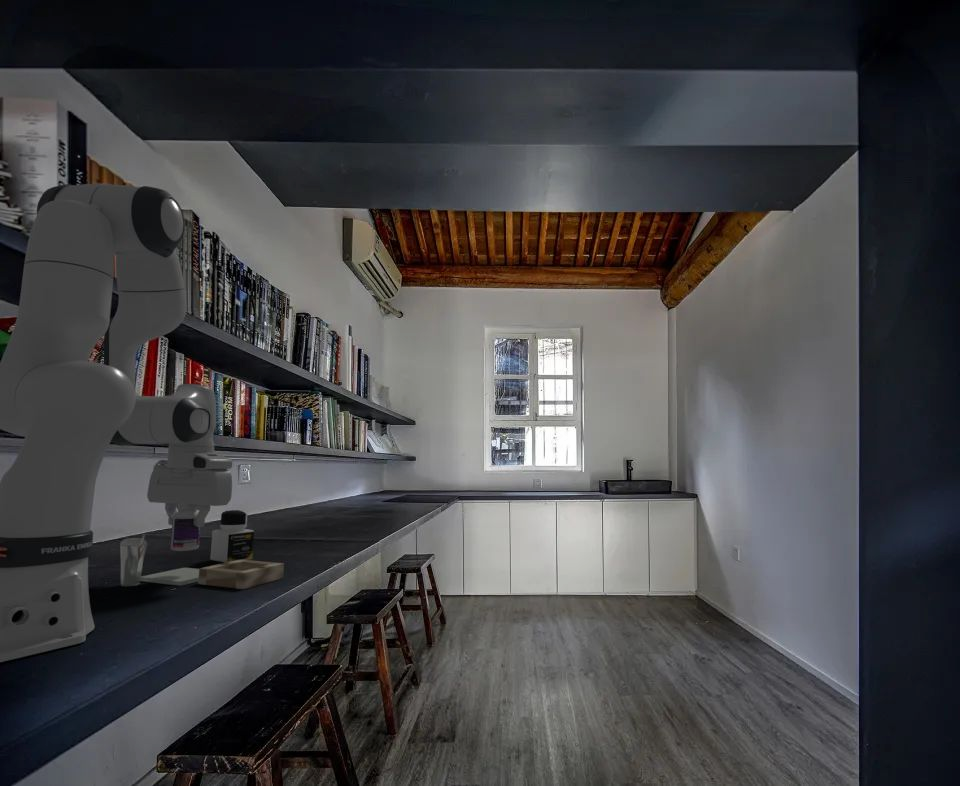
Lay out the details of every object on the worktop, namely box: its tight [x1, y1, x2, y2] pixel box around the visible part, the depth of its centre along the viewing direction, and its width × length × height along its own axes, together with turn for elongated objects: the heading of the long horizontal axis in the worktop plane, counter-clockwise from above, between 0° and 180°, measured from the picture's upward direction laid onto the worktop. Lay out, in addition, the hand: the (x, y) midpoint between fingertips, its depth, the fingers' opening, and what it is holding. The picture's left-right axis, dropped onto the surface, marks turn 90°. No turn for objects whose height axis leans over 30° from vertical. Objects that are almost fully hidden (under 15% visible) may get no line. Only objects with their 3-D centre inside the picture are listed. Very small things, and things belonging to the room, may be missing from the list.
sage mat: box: [140, 567, 199, 587], centre depth 119 cm, size 11×11×1 cm
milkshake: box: [119, 533, 148, 587], centre depth 113 cm, size 5×5×10 cm
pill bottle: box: [170, 503, 201, 552], centre depth 120 cm, size 5×5×10 cm
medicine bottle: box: [209, 509, 255, 563], centre depth 142 cm, size 7×7×12 cm
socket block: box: [197, 559, 285, 590], centre depth 118 cm, size 12×12×3 cm
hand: (186, 525), depth 120 cm, fingers closed on pill bottle, 5 cm apart
